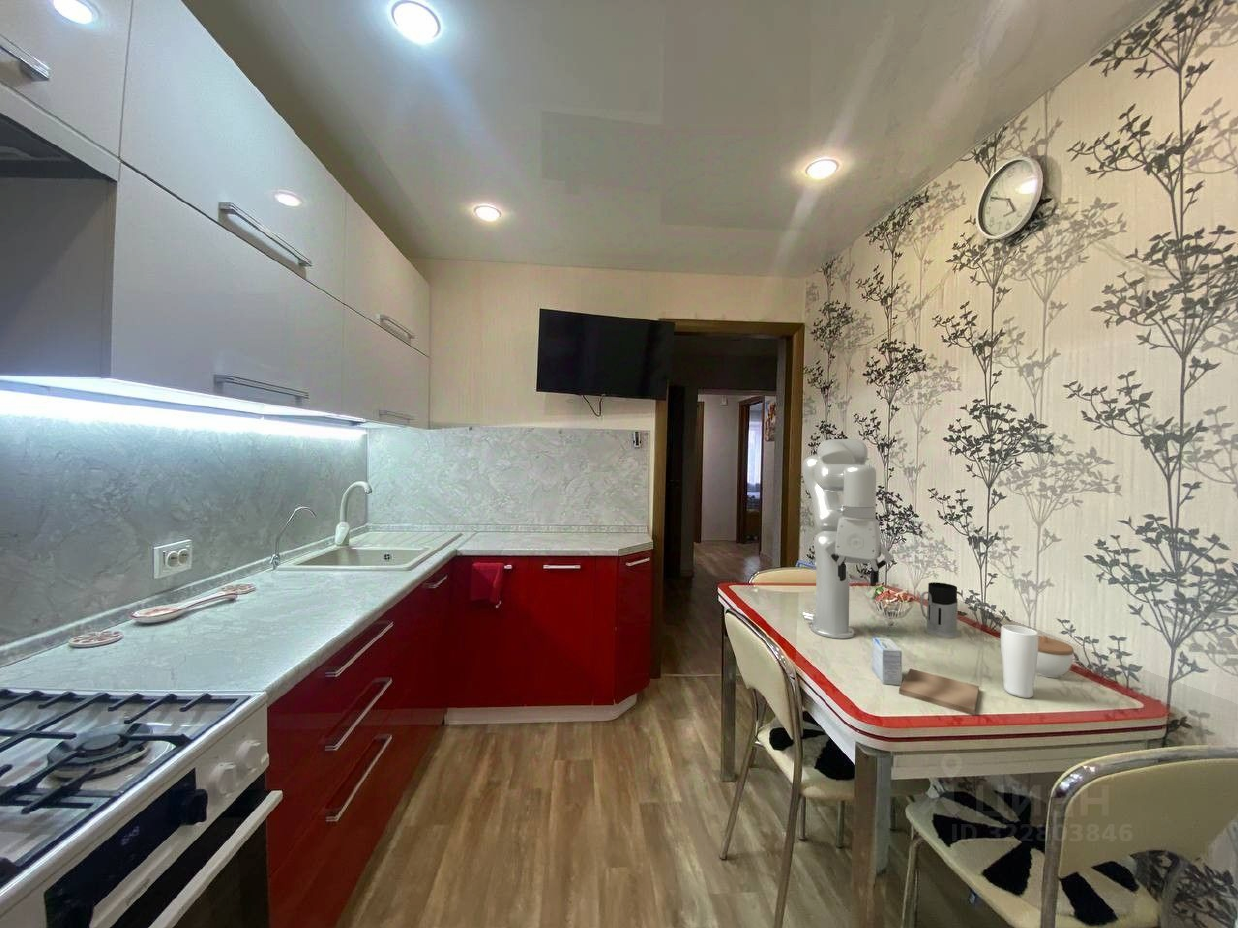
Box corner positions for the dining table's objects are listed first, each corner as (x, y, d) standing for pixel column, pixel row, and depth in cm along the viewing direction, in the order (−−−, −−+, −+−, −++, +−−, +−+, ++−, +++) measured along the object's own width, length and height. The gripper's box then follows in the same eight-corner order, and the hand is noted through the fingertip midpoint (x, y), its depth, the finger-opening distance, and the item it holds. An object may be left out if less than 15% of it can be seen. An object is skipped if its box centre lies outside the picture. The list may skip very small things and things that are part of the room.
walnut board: (899, 693, 111) (899, 688, 111) (910, 673, 121) (910, 668, 121) (974, 715, 101) (974, 709, 101) (978, 691, 112) (979, 686, 112)
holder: (965, 635, 147) (966, 587, 147) (934, 642, 142) (935, 592, 142) (936, 626, 155) (937, 580, 155) (906, 632, 150) (907, 584, 150)
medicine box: (902, 686, 114) (903, 650, 114) (882, 684, 115) (882, 648, 115) (890, 671, 122) (891, 638, 122) (871, 670, 123) (872, 636, 123)
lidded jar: (1082, 685, 116) (1083, 646, 116) (1029, 678, 119) (1030, 640, 119) (1058, 666, 126) (1059, 631, 126) (1009, 660, 129) (1010, 626, 129)
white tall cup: (1028, 688, 113) (1030, 626, 113) (1043, 702, 107) (1044, 636, 107) (994, 684, 116) (995, 622, 115) (1006, 697, 109) (1008, 632, 109)
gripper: (819, 511, 125) (818, 579, 125) (894, 518, 114) (892, 592, 114) (828, 509, 131) (827, 574, 131) (900, 515, 120) (899, 586, 120)
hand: (857, 582), depth 123 cm, fingers open, 6 cm apart
